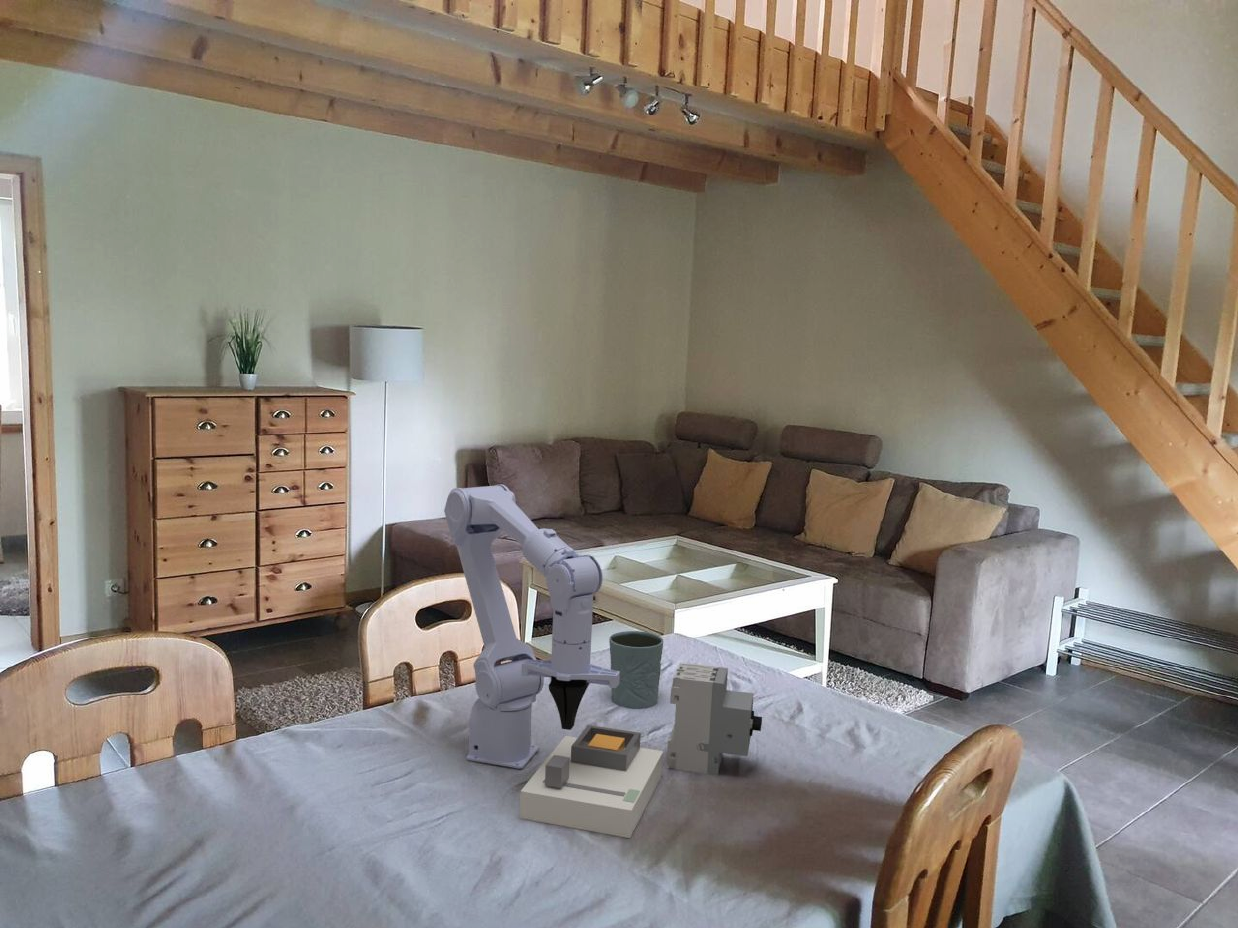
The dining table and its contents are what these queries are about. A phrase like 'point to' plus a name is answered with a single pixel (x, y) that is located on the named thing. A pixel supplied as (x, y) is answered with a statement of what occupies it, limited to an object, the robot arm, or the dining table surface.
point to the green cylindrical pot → (636, 668)
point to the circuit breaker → (708, 719)
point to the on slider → (557, 771)
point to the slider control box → (596, 785)
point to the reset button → (608, 742)
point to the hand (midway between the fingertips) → (567, 726)
